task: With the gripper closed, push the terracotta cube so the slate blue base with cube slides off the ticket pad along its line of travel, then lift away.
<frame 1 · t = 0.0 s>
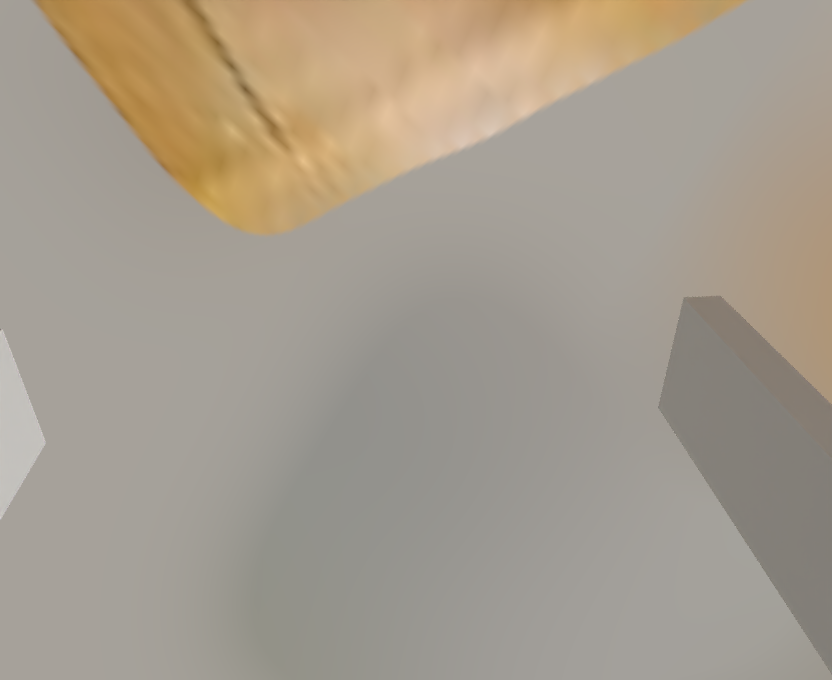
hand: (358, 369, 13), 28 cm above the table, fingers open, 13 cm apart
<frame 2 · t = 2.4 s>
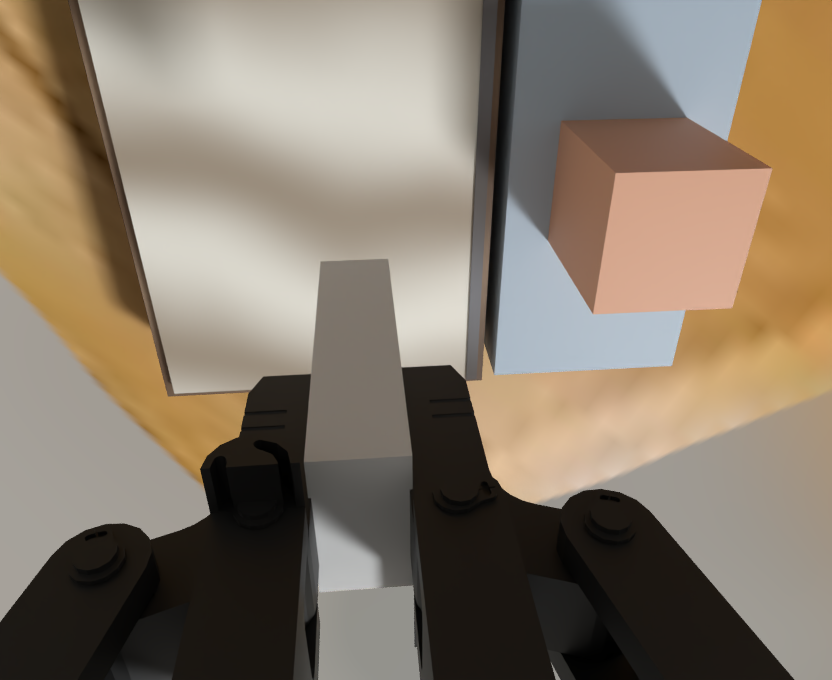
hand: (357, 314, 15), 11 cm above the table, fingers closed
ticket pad: (313, 156, 24), on the table
blue base with cube: (622, 190, 21), point 4 cm above the table, slide at 0.0 cm
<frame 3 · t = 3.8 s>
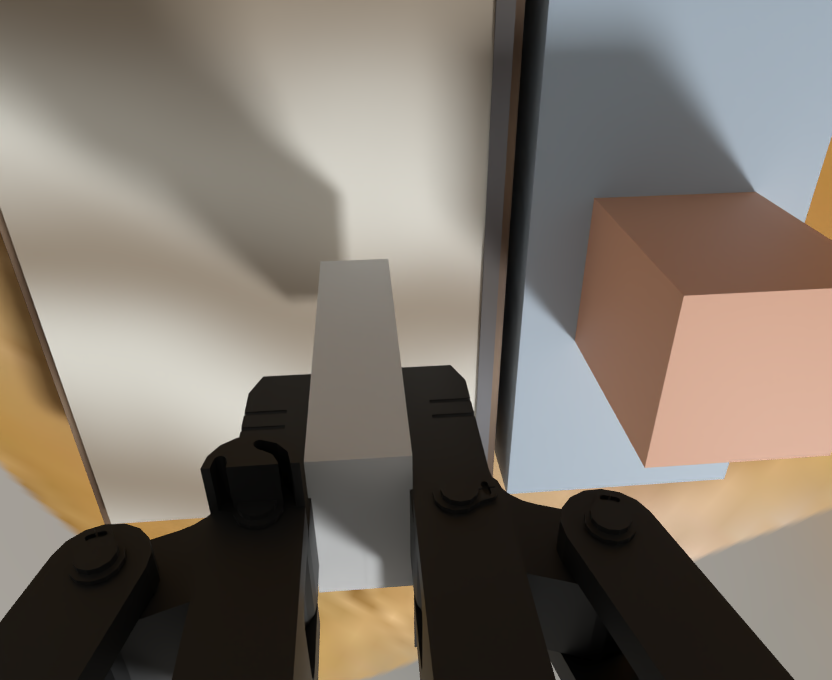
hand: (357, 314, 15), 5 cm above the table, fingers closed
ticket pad: (281, 232, 19), on the table
blue base with cube: (673, 284, 16), point 4 cm above the table, slide at 0.0 cm
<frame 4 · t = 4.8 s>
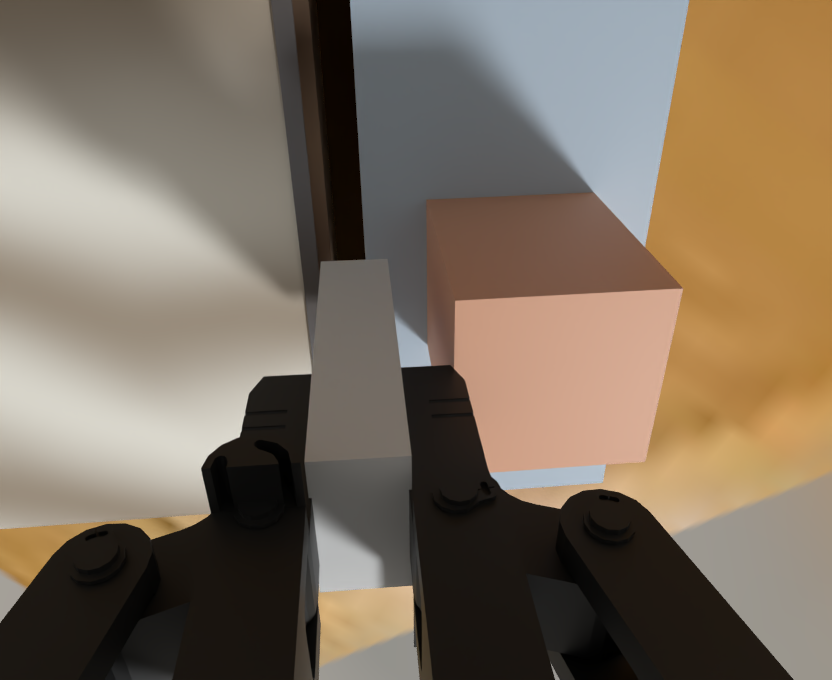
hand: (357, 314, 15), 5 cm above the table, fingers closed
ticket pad: (125, 236, 19), on the table
blue base with cube: (512, 287, 16), point 4 cm above the table, slide at 0.5 cm, touching gripper
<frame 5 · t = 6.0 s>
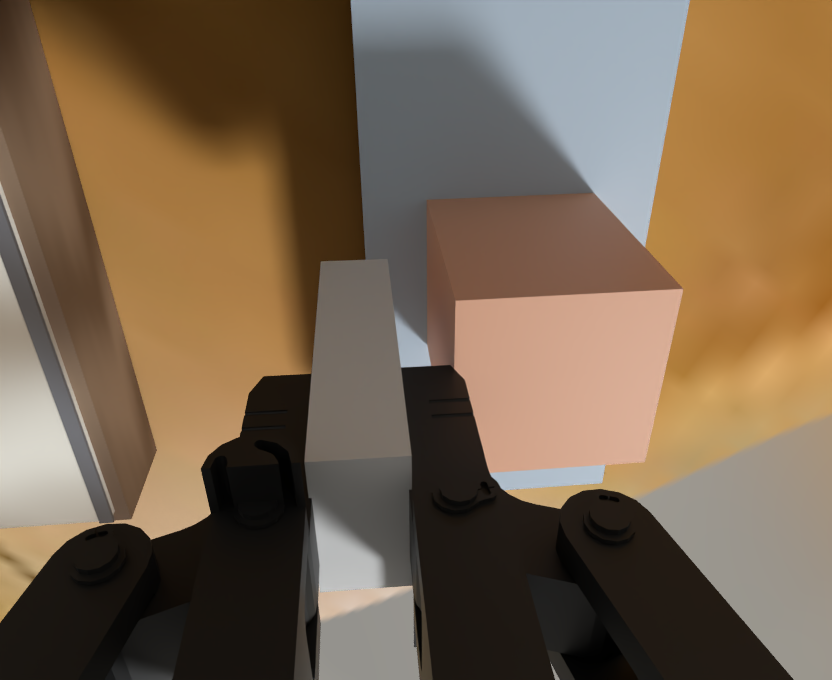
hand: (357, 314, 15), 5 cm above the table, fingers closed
blue base with cube: (512, 287, 16), point 4 cm above the table, slide at 7.3 cm, touching gripper
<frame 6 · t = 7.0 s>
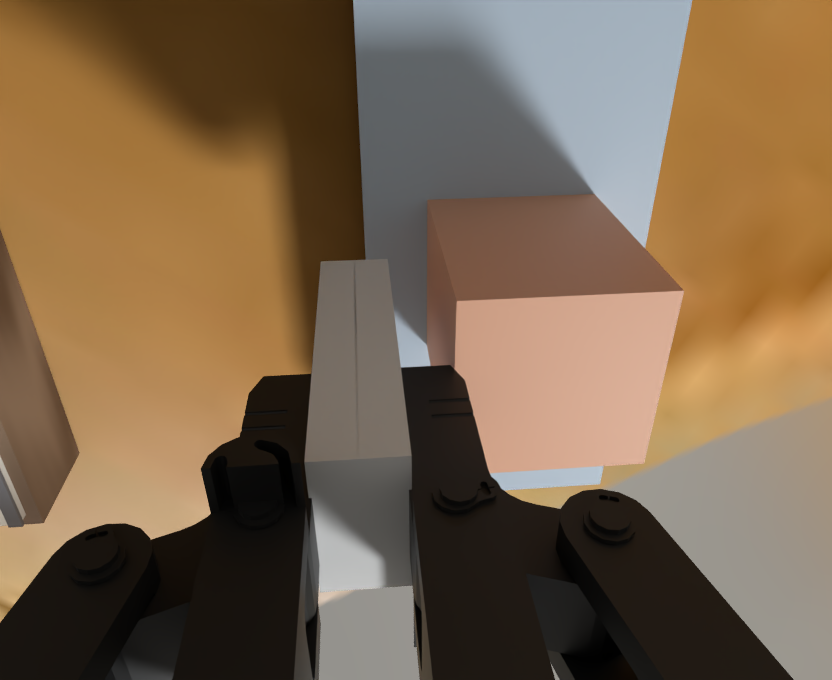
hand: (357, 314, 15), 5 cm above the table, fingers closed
blue base with cube: (512, 287, 16), point 4 cm above the table, slide at 9.8 cm, touching gripper
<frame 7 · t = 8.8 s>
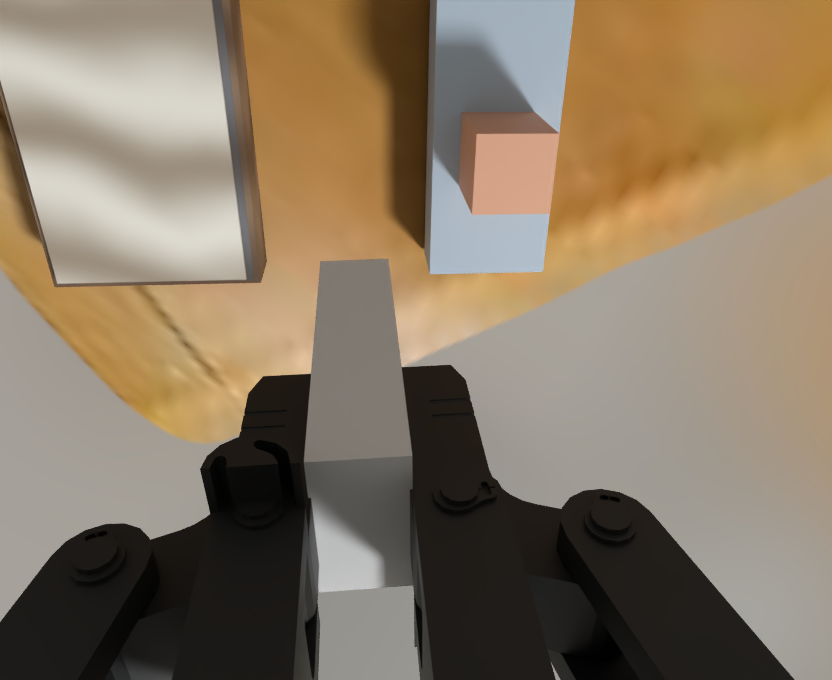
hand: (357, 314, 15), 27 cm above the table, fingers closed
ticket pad: (148, 135, 39), on the table
blue base with cube: (498, 153, 36), point 4 cm above the table, slide at 9.8 cm
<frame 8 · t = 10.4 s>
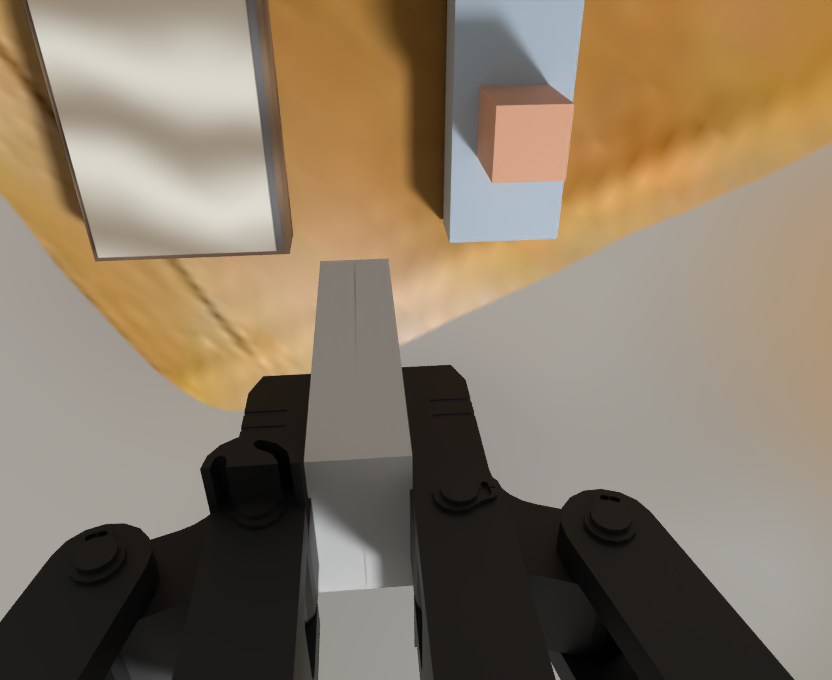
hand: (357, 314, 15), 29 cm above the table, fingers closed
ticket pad: (180, 115, 41), on the table
blue base with cube: (514, 124, 38), point 4 cm above the table, slide at 9.8 cm
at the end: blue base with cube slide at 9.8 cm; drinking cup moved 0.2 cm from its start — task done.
